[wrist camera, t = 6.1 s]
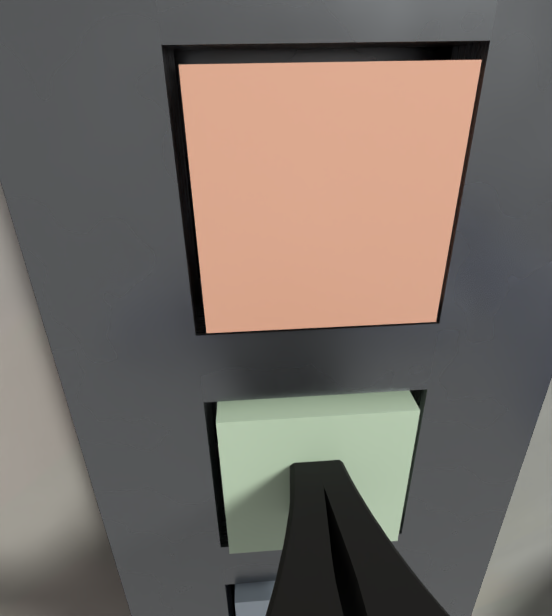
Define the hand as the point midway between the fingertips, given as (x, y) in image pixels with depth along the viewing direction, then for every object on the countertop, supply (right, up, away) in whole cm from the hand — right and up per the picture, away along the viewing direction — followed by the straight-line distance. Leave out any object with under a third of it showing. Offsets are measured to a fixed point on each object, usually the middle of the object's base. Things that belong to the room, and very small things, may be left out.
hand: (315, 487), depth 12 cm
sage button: (0, +1, +3) cm, 3 cm away
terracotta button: (0, +8, -1) cm, 8 cm away
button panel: (0, +2, +3) cm, 3 cm away
